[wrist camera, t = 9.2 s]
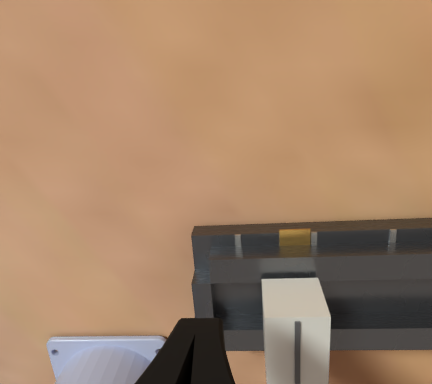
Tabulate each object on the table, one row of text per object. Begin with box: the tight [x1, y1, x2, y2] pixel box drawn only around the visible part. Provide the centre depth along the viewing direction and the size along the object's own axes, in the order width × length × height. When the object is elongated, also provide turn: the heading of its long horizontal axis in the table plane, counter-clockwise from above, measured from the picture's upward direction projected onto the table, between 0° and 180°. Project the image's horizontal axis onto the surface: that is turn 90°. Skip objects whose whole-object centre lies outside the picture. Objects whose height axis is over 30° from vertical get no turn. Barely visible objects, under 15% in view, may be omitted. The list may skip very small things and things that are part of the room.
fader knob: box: [262, 278, 331, 384], centre depth 19 cm, size 4×3×5 cm
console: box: [191, 218, 432, 351], centre depth 21 cm, size 8×21×3 cm, turn 94°
